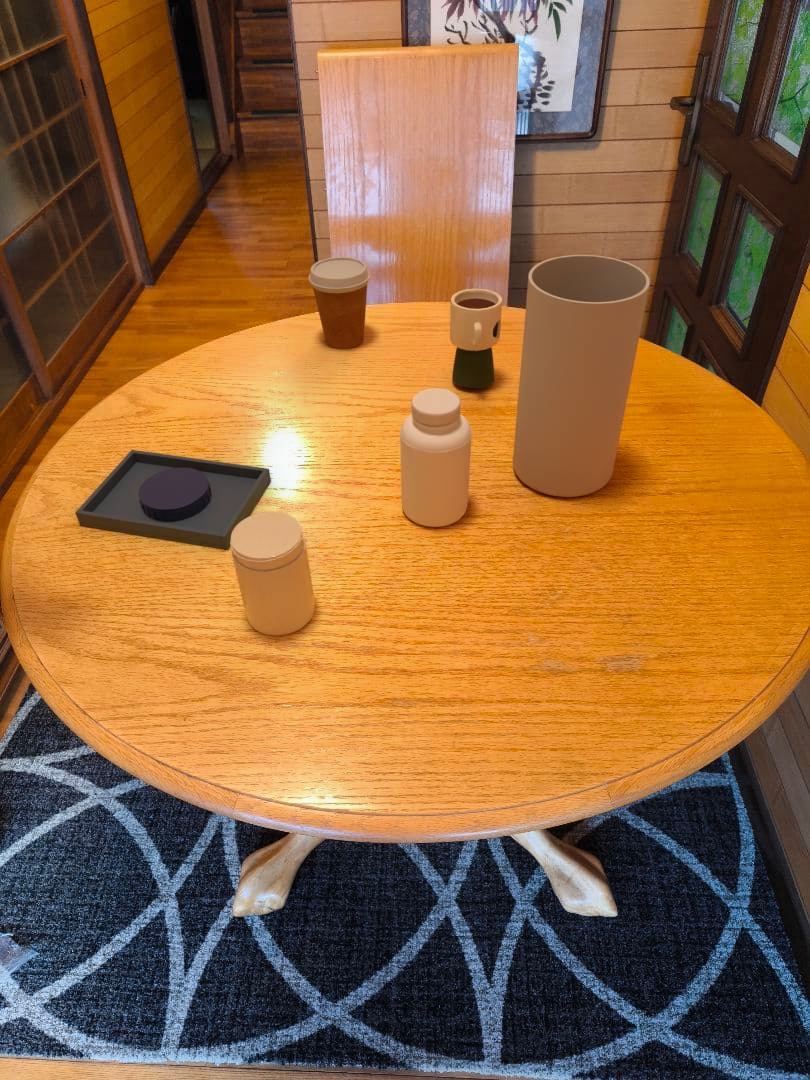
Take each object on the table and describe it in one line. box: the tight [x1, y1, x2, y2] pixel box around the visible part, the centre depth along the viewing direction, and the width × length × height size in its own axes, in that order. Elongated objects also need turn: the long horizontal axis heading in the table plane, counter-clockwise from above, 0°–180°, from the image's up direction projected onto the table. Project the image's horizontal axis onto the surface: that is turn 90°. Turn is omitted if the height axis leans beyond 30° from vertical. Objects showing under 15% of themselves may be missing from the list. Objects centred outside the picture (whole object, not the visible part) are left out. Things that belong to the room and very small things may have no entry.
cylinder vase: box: [512, 254, 651, 498], centre depth 89 cm, size 12×12×25 cm
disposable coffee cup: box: [307, 256, 371, 350], centre depth 121 cm, size 10×10×12 cm
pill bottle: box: [399, 387, 472, 528], centre depth 87 cm, size 8×8×15 cm
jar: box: [230, 511, 316, 636], centre depth 76 cm, size 7×7×11 cm
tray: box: [74, 449, 272, 550], centre depth 93 cm, size 19×13×2 cm
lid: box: [138, 467, 212, 522], centre depth 93 cm, size 8×8×2 cm
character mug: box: [449, 288, 503, 389], centre depth 109 cm, size 11×7×13 cm, turn 0°
